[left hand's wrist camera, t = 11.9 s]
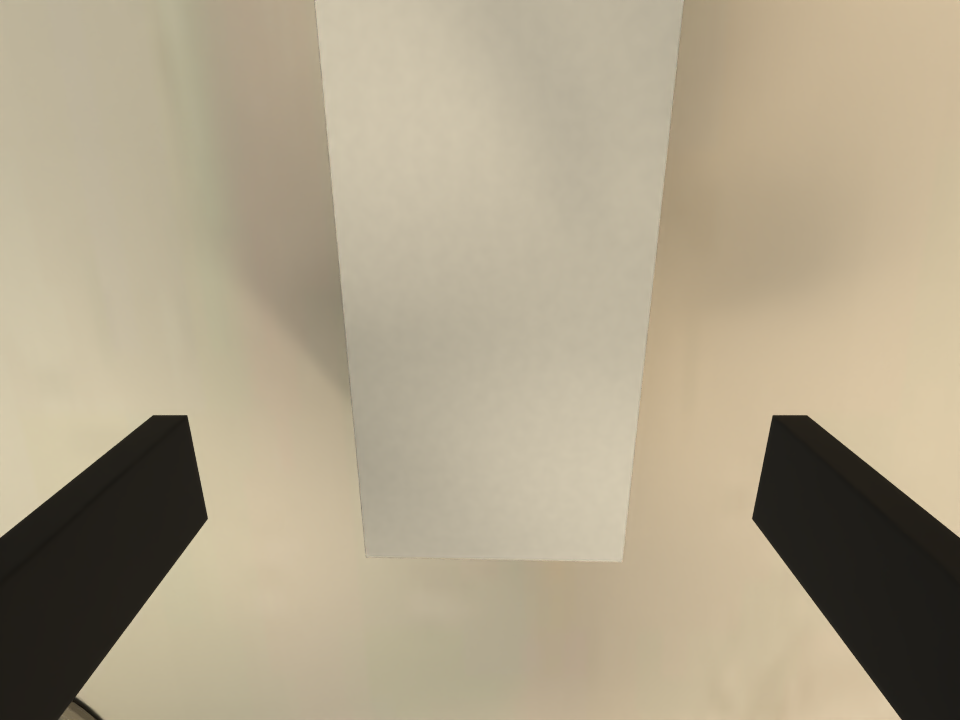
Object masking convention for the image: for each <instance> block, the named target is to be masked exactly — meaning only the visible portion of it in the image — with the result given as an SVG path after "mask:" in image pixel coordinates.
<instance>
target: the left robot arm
mask: <svg viewBox="0 0 960 720" xmlns="http://www.w3.org/2000/svg"><path fill="white" fill-rule="evenodd" d="M207 519H208V517H207V512H206V507H205V502H204V497H203V492H202V487H201V482H200V477H199V472H198V467H197V462H196V457H195V452H194V447H193V442H192V437H191V432H190V427H189V422H188V417H187V415H153V416H152V417H150V418H149V419H148V420H147V421H145V422H144V423H143V424H142V425H140V426H139V427H138V428H137V429H135V430H134V431H133V432H132V433H130V434H129V435H128V436H127V437H125V438H124V439H123V440H122V441H120V442H119V443H118V444H117V445H116V446H114V447H113V448H112V449H111V450H109V451H108V452H107V453H106V454H104V455H103V456H102V457H101V458H99V459H98V460H97V461H96V462H94V463H93V464H92V465H91V466H89V467H88V468H87V469H86V470H84V471H83V472H82V473H81V474H79V475H78V476H77V477H76V478H74V479H73V480H72V481H71V482H69V483H68V484H67V485H66V486H64V487H63V488H62V489H61V490H59V491H58V492H57V493H56V494H54V495H53V496H52V497H51V498H49V499H48V500H47V501H46V502H44V503H43V504H42V505H41V506H39V507H38V508H37V509H36V510H34V511H33V512H32V513H31V514H29V515H28V516H27V517H26V518H24V519H23V520H22V521H21V522H19V523H18V524H17V525H16V526H14V527H13V528H12V529H11V530H10V531H8V532H7V533H6V534H5V535H3V536H2V537H1V538H0V720H96V719H95V718H93V717H92V716H91V715H90V714H89V713H88V712H86V711H85V710H84V709H83V708H81V707H80V706H78V705H77V704H76V703H74V702H73V699H74V698H75V697H76V695H77V694H78V693H79V691H80V690H81V688H82V687H83V686H84V684H85V683H86V682H87V680H88V679H89V678H90V676H91V675H92V674H93V672H94V671H95V670H96V668H97V667H98V666H99V664H100V663H101V662H102V660H103V659H104V658H105V656H106V655H107V654H108V652H109V651H110V650H111V648H112V647H113V645H114V644H115V643H116V641H117V640H118V639H119V637H120V636H121V635H122V633H123V632H124V631H125V629H126V628H127V627H128V625H129V624H130V623H131V621H132V620H133V619H134V617H135V616H136V615H137V613H138V612H139V611H140V609H141V608H142V607H143V605H144V604H145V603H146V601H147V600H148V598H149V597H150V596H151V594H152V593H153V592H154V590H155V589H156V588H157V586H158V585H159V584H160V582H161V581H162V580H163V578H164V577H165V576H166V574H167V573H168V572H169V570H170V569H171V568H172V566H173V565H174V564H175V562H176V561H177V560H178V558H179V557H180V556H181V554H182V553H183V551H184V550H185V549H186V547H187V546H188V545H189V543H190V542H191V541H192V539H193V538H194V537H195V535H196V534H197V533H198V531H199V530H200V529H201V527H202V526H203V525H204V523H205V522H206V521H207ZM752 519H753V521H754V522H755V523H756V525H757V526H758V527H759V529H760V530H761V531H762V533H763V534H764V535H765V537H766V538H767V539H768V541H769V542H770V543H771V545H772V546H773V547H774V549H775V550H776V551H777V553H778V554H779V556H780V557H781V558H782V560H783V561H784V562H785V564H786V565H787V566H788V568H789V569H790V570H791V572H792V573H793V574H794V576H795V577H796V578H797V580H798V581H799V582H800V584H801V585H802V586H803V588H804V589H805V590H806V592H807V593H808V594H809V596H810V597H811V598H812V600H813V601H814V603H815V604H816V605H817V607H818V608H819V609H820V611H821V612H822V613H823V615H824V616H825V617H826V619H827V620H828V621H829V623H830V624H831V625H832V627H833V628H834V629H835V631H836V632H837V633H838V635H839V636H840V637H841V639H842V640H843V641H844V643H845V644H846V645H847V647H848V648H849V650H850V651H851V652H852V654H853V655H854V656H855V658H856V659H857V660H858V662H859V663H860V664H861V666H862V667H863V668H864V670H865V671H866V672H867V674H868V675H869V676H870V678H871V679H872V680H873V682H874V683H875V684H876V686H877V687H878V688H879V690H880V691H881V693H882V694H883V695H884V697H885V698H886V699H887V701H888V702H889V703H890V705H891V706H892V707H893V709H894V710H895V711H896V713H897V714H898V715H899V717H900V718H901V719H902V720H960V538H959V537H958V536H957V535H955V534H954V533H953V532H952V531H950V530H949V529H948V528H947V527H946V526H944V525H943V524H942V523H941V522H939V521H938V520H937V519H936V518H934V517H933V516H932V515H931V514H929V513H928V512H927V511H926V510H924V509H923V508H922V507H921V506H919V505H918V504H917V503H916V502H914V501H913V500H912V499H911V498H909V497H908V496H907V495H906V494H904V493H903V492H902V491H901V490H899V489H898V488H897V487H896V486H894V485H893V484H892V483H891V482H889V481H888V480H887V479H886V478H884V477H883V476H882V475H881V474H879V473H878V472H877V471H876V470H874V469H873V468H872V467H871V466H869V465H868V464H867V463H866V462H864V461H863V460H862V459H861V458H859V457H858V456H857V455H856V454H854V453H853V452H852V451H851V450H849V449H848V448H847V447H846V446H844V445H843V444H842V443H841V442H840V441H838V440H837V439H836V438H835V437H833V436H832V435H831V434H830V433H828V432H827V431H826V430H825V429H823V428H822V427H821V426H820V425H818V424H817V423H816V422H815V421H813V420H812V419H811V418H810V417H808V416H807V415H773V417H772V422H771V427H770V432H769V437H768V442H767V447H766V452H765V457H764V462H763V467H762V472H761V477H760V482H759V487H758V492H757V497H756V502H755V507H754V512H753V517H752Z"/></svg>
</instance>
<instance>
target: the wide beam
mask: <svg viewBox="0 0 960 720" xmlns="http://www.w3.org/2000/svg"><path fill="white" fill-rule="evenodd" d="M314 2H315V13H316V24H317V34H318V45H319V56H320V67H321V78H322V88H323V99H324V110H325V121H326V132H327V143H328V153H329V164H330V175H331V186H332V197H333V207H334V218H335V229H336V240H337V251H338V262H339V272H340V283H341V294H342V305H343V316H344V326H345V337H346V348H347V359H348V370H349V381H350V391H351V402H352V413H353V424H354V435H355V445H356V456H357V467H358V478H359V489H360V499H361V510H362V521H363V532H364V543H365V554H366V557H367V558H421V559H476V560H531V561H586V562H622V561H623V553H624V544H625V535H626V526H627V517H628V508H629V499H630V489H631V480H632V471H633V462H634V453H635V444H636V435H637V426H638V417H639V408H640V398H641V389H642V380H643V371H644V362H645V353H646V344H647V335H648V326H649V316H650V307H651V298H652V289H653V280H654V271H655V262H656V253H657V244H658V235H659V225H660V216H661V207H662V198H663V189H664V180H665V171H666V162H667V153H668V143H669V134H670V125H671V116H672V107H673V98H674V89H675V80H676V71H677V62H678V52H679V43H680V34H681V25H682V16H683V7H684V0H314Z"/></svg>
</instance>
